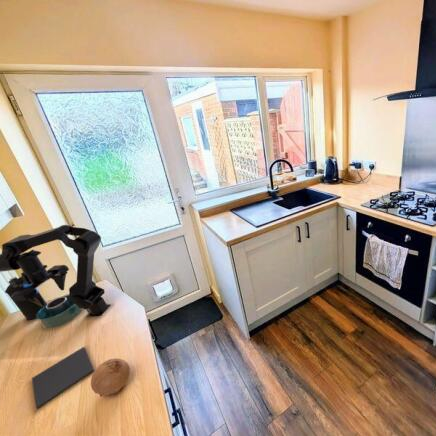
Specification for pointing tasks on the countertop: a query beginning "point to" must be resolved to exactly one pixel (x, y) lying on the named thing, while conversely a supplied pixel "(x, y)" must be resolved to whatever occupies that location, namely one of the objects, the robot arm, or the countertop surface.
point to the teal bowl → (59, 319)
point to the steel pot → (58, 306)
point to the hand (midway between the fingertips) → (53, 297)
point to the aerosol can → (25, 303)
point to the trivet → (61, 377)
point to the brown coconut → (110, 376)
